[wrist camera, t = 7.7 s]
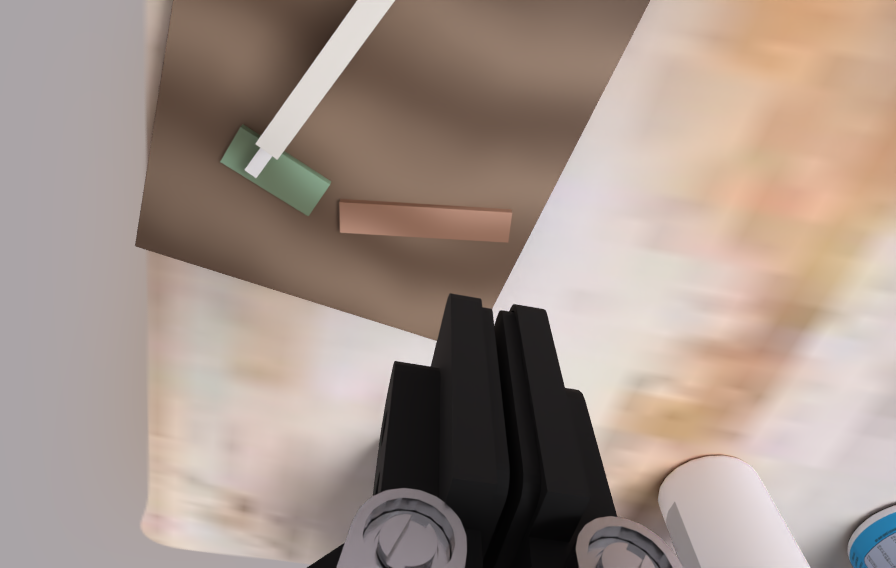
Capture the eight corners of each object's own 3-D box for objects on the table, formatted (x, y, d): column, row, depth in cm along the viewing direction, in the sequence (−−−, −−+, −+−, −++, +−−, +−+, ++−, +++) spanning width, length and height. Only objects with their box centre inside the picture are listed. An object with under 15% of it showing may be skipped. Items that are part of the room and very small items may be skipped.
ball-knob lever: (435, -197, 22) (434, -215, 19) (526, -101, 23) (539, -102, 20) (213, 134, 28) (184, 164, 25) (297, 194, 29) (279, 228, 26)
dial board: (259, -453, 20) (243, -485, 18) (735, -193, 23) (757, -201, 22) (147, 232, 32) (131, 249, 31) (469, 335, 36) (470, 355, 34)
